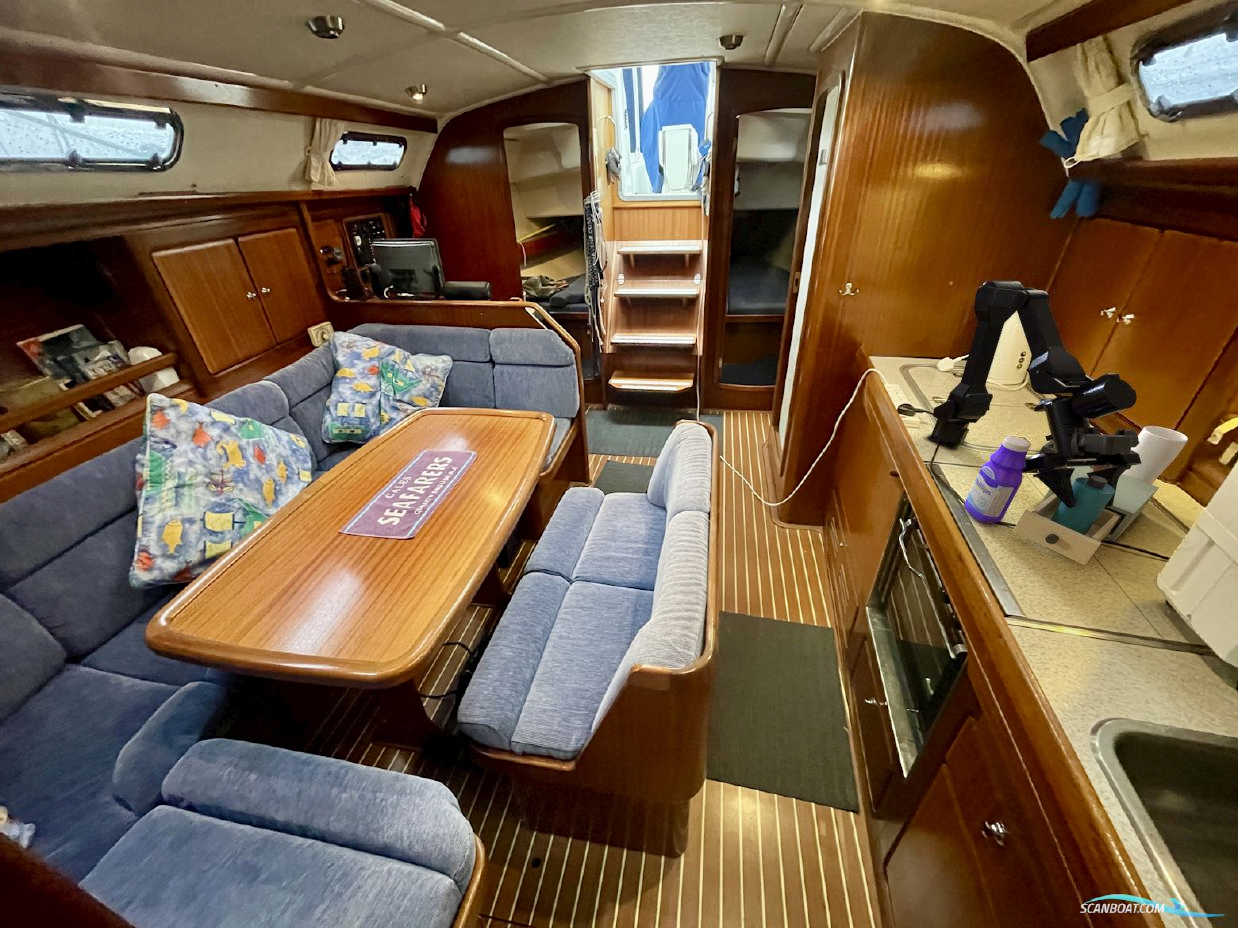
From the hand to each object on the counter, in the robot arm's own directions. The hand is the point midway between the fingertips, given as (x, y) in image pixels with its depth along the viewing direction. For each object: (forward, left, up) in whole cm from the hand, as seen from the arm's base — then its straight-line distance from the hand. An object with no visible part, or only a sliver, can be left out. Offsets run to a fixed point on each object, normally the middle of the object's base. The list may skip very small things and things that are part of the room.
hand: (1090, 507), depth 89 cm
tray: (-11, +39, -8) cm, 41 cm away
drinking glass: (+1, +29, -8) cm, 30 cm away
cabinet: (-1, +14, -8) cm, 16 cm away
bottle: (-13, -6, -8) cm, 17 cm away
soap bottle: (-1, +1, -6) cm, 6 cm away
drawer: (-1, -2, -7) cm, 7 cm away
